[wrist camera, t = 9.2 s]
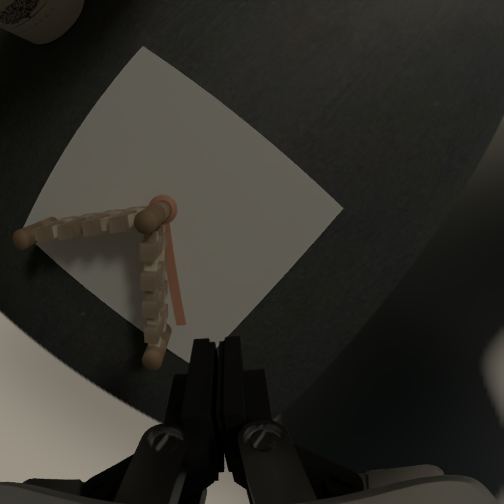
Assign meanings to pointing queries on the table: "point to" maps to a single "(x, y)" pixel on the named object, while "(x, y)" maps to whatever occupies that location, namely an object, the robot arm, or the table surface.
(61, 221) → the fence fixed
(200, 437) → the robot arm
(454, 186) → the table surface
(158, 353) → the fence gate
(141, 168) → the card
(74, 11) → the travel mug
